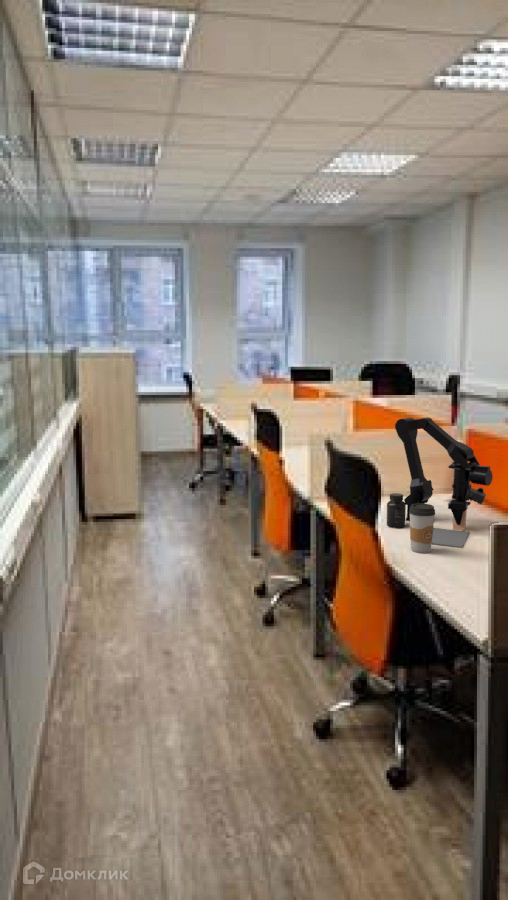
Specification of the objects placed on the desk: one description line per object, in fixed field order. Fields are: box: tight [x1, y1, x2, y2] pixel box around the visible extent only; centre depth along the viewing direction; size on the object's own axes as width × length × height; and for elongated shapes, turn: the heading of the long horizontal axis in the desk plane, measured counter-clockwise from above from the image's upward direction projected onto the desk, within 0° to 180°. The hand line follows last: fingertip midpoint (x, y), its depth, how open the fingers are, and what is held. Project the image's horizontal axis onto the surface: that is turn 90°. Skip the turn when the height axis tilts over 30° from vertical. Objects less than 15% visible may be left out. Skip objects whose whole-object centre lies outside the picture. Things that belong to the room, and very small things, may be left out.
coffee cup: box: [409, 503, 436, 554], centre depth 221 cm, size 8×8×15 cm
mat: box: [431, 527, 470, 549], centre depth 236 cm, size 13×19×1 cm
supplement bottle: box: [386, 492, 407, 529], centre depth 249 cm, size 7×7×12 cm
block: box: [452, 509, 468, 531], centre depth 246 cm, size 4×4×8 cm
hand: (459, 523), depth 246 cm, fingers closed on block, 4 cm apart
